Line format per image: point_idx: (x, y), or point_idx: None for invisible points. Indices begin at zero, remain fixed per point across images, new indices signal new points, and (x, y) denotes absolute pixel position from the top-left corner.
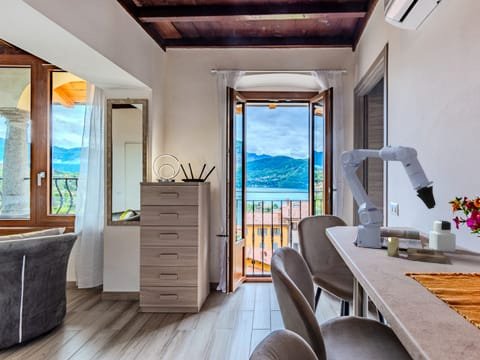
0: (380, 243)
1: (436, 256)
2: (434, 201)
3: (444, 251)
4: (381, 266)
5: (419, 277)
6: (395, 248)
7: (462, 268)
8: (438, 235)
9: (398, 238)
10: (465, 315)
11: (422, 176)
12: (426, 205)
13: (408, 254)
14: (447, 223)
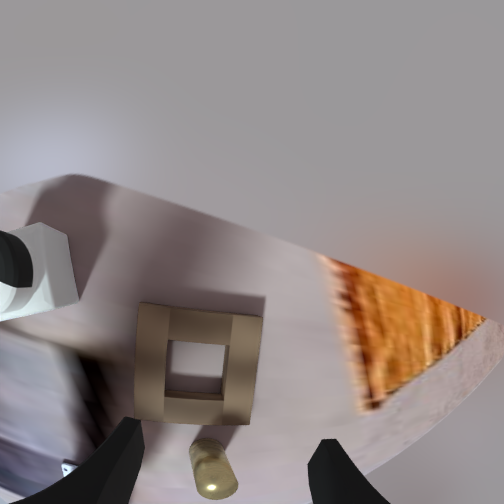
0: (62, 466)
1: (250, 344)
2: (349, 462)
3: (73, 275)
4: None
5: (387, 383)
6: (228, 461)
7: (297, 278)
8: (56, 303)
9: (222, 474)
10: (476, 323)
11: None
12: (135, 478)
13: (249, 423)
14: (12, 253)
